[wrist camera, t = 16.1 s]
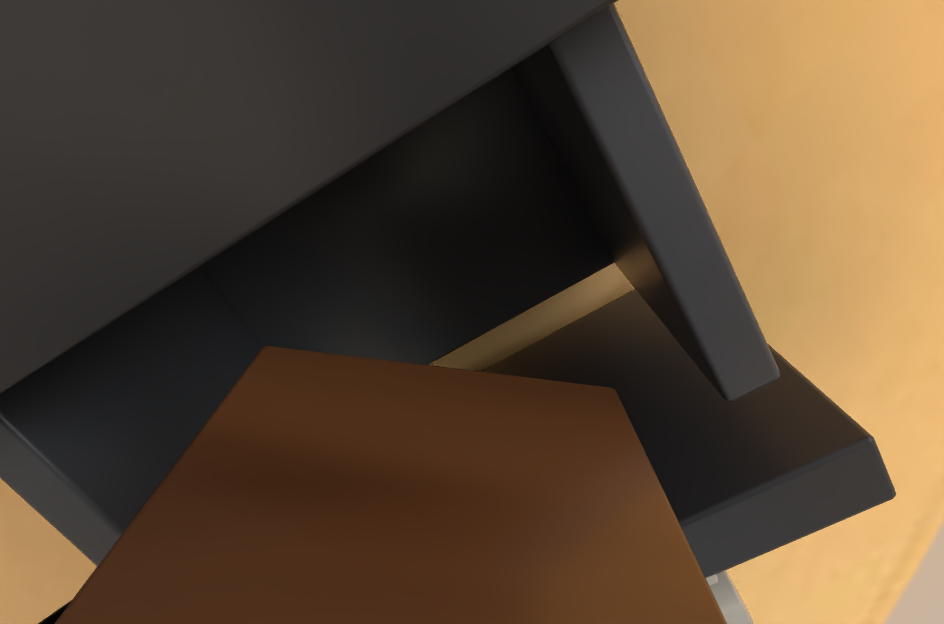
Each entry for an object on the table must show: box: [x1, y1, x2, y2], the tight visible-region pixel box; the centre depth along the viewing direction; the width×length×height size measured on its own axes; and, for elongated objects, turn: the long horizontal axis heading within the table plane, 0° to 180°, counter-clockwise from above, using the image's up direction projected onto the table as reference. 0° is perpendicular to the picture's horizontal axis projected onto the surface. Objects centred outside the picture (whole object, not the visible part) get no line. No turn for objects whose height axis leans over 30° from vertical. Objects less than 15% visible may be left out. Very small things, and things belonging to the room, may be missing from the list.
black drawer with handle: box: [0, 3, 896, 624], centre depth 11 cm, size 18×11×8 cm, turn 31°
